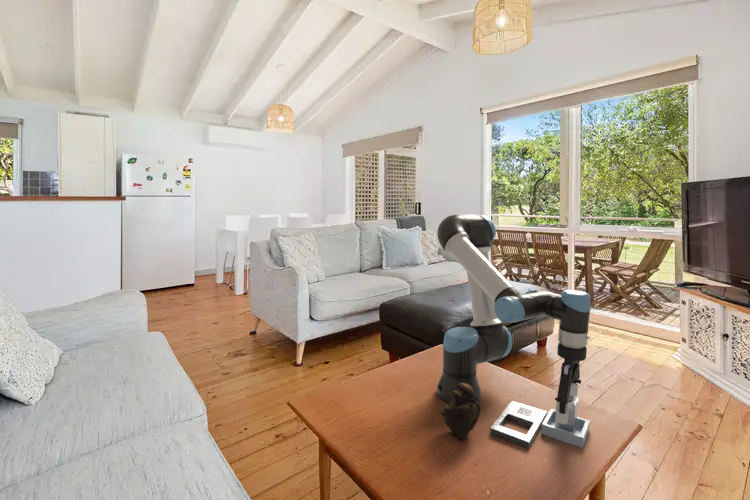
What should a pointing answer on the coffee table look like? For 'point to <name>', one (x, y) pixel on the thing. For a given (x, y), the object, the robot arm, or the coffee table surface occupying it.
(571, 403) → the knob block
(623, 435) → the coffee table surface
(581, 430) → the tray
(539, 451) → the coffee table surface
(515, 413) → the grey slotted plate
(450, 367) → the robot arm
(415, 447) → the coffee table surface
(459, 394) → the sculpture
